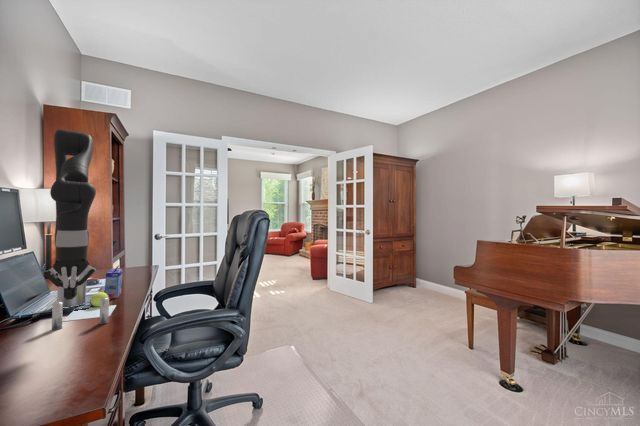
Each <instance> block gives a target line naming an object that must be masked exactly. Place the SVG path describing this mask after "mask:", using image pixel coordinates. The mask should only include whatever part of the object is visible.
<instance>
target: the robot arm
mask: <svg viewBox="0 0 640 426" xmlns="http://www.w3.org/2000/svg"><path fill="white" fill-rule="evenodd" d="M53 147H54V160H55V161H54V162H55V181H54V183H53V184H52V185H51V187H50V191H49V193H50V194H49V195H50V197H51V199H53V201H54V202H55V214H56V215H55V228H54V230H55V231H54V247H55V253H54V256H55V257H54V263H53V264H52V267H50V268H49V269H48V270H45V271H44V272H43V276H45V277H46V278H47V279H48V280H49V281H50V282H51V283H52V284H53V285H54V286H56V287H57V289H56V291H57V292H56V293H57V295H56V302H63V307H71V306H76V305H80V304H83V303H85V304H86V299H87V298H86V297H87V280H88V279H90V277H92V275H93V274H95V272H96V271H97V267H92V265H90V263H89V261H88V248H89V238H90V233H89V230H88V221H89V220H88V219H89V213H90V210H91V207H92V204H93V202H94V200H95V197H96V193H97V192H96V188H95V186H94V184H92V183H90V182H89V168H90V164H91V161H92V156H93V153H94V152H93V151H94V140H93V137H92V136H91V135H90V134H88V133H84V132H79V131H72V130H67V129H57V130H56V131H55V133H54V137H53ZM67 156H71V157H69V158H67ZM56 273H57V274H58V275H57V274H56Z"/></svg>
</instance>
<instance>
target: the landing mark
mask: <svg viewBox="0 0 640 426" xmlns="http://www.w3.org/2000/svg"><path fill="white" fill-rule="evenodd" d="M116 307H117V304H114V305H113V304H112V305H109V317H111V315H112V313H113V312H114V310H115V309H116ZM88 308H89V309H86V310H78V311H74V310H73V311H72V312H70V314H69V315H67V316H66V317H65V318H64V319H62V323H63V322H71V321H81V320H90V319H98V318H99V319H100V307H96V306H93V307H88Z"/></svg>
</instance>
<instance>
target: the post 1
mask: <svg viewBox="0 0 640 426" xmlns="http://www.w3.org/2000/svg"><path fill="white" fill-rule="evenodd" d="M51 307H52V308H51V309H52V314H51V331H57V330H58V331H59V330H61V329H63V310H64V309H63V302H57V301H56V302H55V301H54V302H53V303H52V306H51Z"/></svg>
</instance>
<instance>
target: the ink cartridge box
mask: <svg viewBox="0 0 640 426" xmlns="http://www.w3.org/2000/svg"><path fill="white" fill-rule="evenodd" d="M119 267H120V265H118V266H116V268H115V269H114V268H113V269H109V270H108V271H107V272H106V273H105V281H104V293H106V294H107V295H108V298H109V299H117V298H118V299H119V296H120V295H121V294H122V285H123V284H122V283H123V270H124V269H122V268H119Z"/></svg>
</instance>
